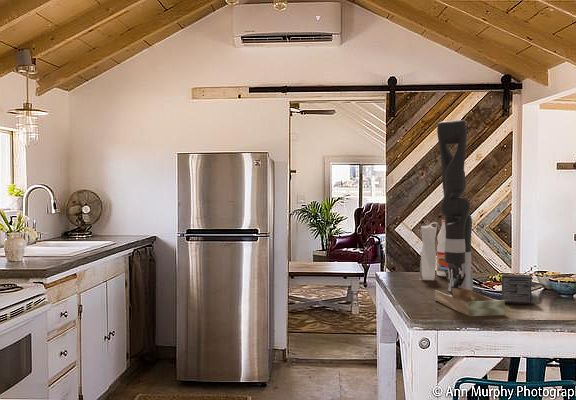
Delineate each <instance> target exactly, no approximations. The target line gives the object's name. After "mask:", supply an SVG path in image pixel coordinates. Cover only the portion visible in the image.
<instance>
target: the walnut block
mask: <svg viewBox="0 0 576 400" xmlns="http://www.w3.org/2000/svg"><path fill="white" fill-rule="evenodd" d="M452 297H454V298H456V299H459V300H461V301H465V302H468V301H471V289H468V288H465V287H462V288H452Z"/></svg>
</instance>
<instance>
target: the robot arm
mask: <svg viewBox="0 0 576 400" xmlns="http://www.w3.org/2000/svg"><path fill="white" fill-rule="evenodd" d="M436 127H437V128H436V129H437V131H436V132H437V133H436V134H437V141H438V147H439V153H440V163H441V165H440V166H441V167H440V168H441V181H442V182H441V183H442V192H443V198H442V201H441V204H440V212H441V214H442V215H443V216H444V220H445V229H446V239H445V263H448V269H447V270H445V274H446V276H445V277H446V280H447V283H448V284H447V285H448V286H447V287H448V288H447V290H448V292H450V295H451V296H452V288H462V287H465V288H468V289H471V291H473V292H474V269H472V230H473V229H472V228H473V219H472V215H471V214H469V213H470V209H471V203H470V201H469V200H468V199H467V198H464V197H462V195H463V194H464V192H465V190H466V187H467V182H466V172H465V161H466V153H467V152H466V149H467V142H468V141H467V140H468V139H467V136H468V134H467V133H468V131H467V123H466V121H465V120H464V119H456V120H445V121H440V122H438V124H437V126H436ZM453 144H455V145H456V144H457V149H456V151H455V153H454V155H453V154H452V153H451V151H450V149H449V146H448V145H453Z"/></svg>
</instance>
